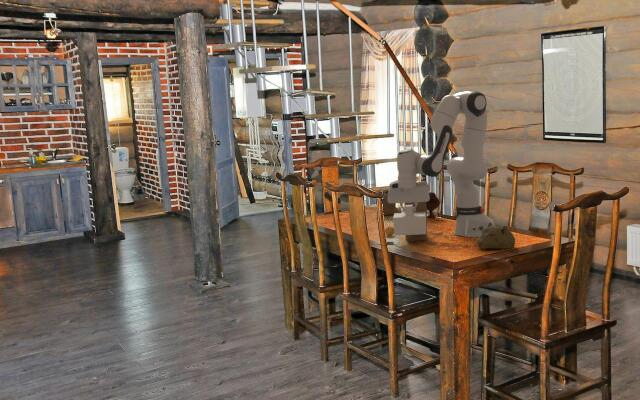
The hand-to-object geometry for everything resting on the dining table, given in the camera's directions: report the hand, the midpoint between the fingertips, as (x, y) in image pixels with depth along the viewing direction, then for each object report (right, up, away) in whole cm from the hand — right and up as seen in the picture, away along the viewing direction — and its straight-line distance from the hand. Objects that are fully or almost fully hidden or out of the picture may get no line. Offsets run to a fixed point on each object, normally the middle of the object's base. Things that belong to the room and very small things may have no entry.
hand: (409, 211), depth 336 cm
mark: (-9, -15, +11) cm, 21 cm away
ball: (-7, -11, +24) cm, 27 cm away
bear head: (+38, -17, -15) cm, 44 cm away
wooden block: (+6, -14, +15) cm, 21 cm away
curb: (-10, -16, +5) cm, 20 cm away
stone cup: (-1, -3, +82) cm, 82 cm away
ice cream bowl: (+21, -5, +65) cm, 68 cm away
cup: (+1, -10, +2) cm, 10 cm away
